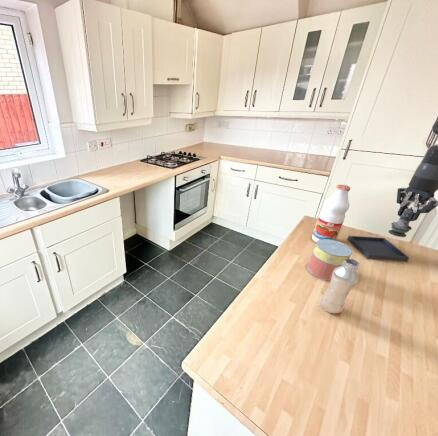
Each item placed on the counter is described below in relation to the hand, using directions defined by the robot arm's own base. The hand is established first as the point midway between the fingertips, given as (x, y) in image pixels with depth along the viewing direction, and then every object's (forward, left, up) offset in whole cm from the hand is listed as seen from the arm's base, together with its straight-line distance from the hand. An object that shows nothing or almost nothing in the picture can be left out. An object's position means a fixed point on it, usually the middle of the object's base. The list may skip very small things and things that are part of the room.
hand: (405, 217), depth 94 cm
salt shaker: (0, 0, -7) cm, 7 cm away
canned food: (+28, +11, -21) cm, 36 cm away
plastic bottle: (+35, +31, -21) cm, 51 cm away
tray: (-2, -8, -21) cm, 22 cm away
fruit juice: (+18, -13, -21) cm, 31 cm away
